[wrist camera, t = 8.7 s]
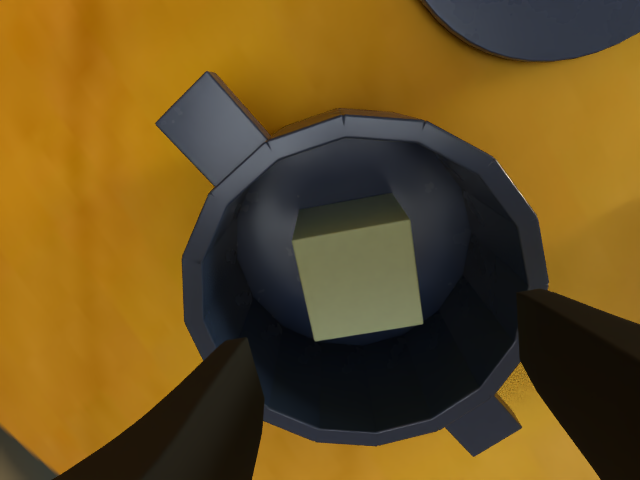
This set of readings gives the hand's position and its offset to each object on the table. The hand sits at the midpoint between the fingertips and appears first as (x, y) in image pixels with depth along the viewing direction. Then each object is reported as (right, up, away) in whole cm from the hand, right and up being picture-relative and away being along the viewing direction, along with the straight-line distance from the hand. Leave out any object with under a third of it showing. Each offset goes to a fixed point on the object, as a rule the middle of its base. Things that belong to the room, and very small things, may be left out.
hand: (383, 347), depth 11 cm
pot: (0, +3, +9) cm, 10 cm away
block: (0, +3, +9) cm, 9 cm away
